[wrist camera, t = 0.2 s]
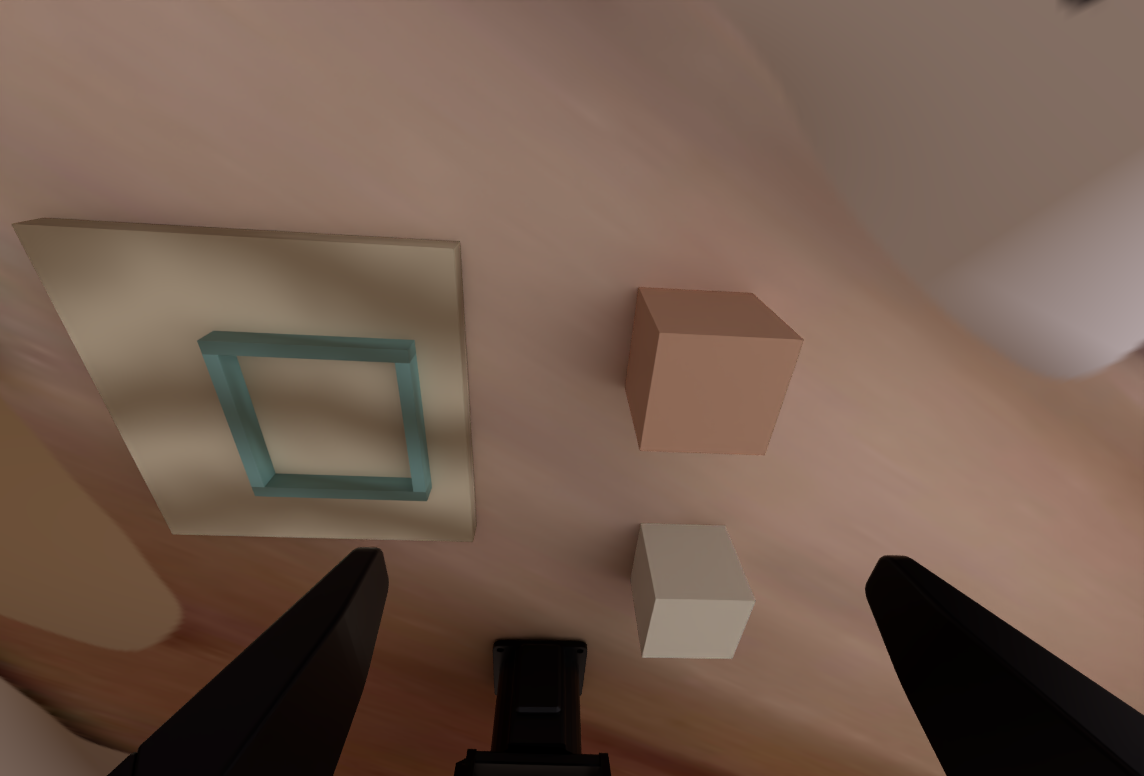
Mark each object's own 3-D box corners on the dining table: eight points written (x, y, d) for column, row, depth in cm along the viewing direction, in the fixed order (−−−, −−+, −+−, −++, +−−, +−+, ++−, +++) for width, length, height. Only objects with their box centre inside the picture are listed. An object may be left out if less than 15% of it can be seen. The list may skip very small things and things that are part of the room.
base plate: (476, 525, 27) (469, 556, 25) (188, 517, 26) (158, 549, 24) (460, 241, 19) (448, 255, 17) (42, 217, 18) (-19, 229, 16)
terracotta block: (726, 391, 23) (764, 455, 18) (624, 386, 22) (639, 450, 18) (752, 292, 20) (803, 339, 16) (638, 286, 20) (659, 332, 16)
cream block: (707, 580, 30) (732, 658, 25) (630, 578, 30) (642, 657, 25) (724, 524, 27) (755, 600, 23) (640, 522, 27) (655, 598, 23)
